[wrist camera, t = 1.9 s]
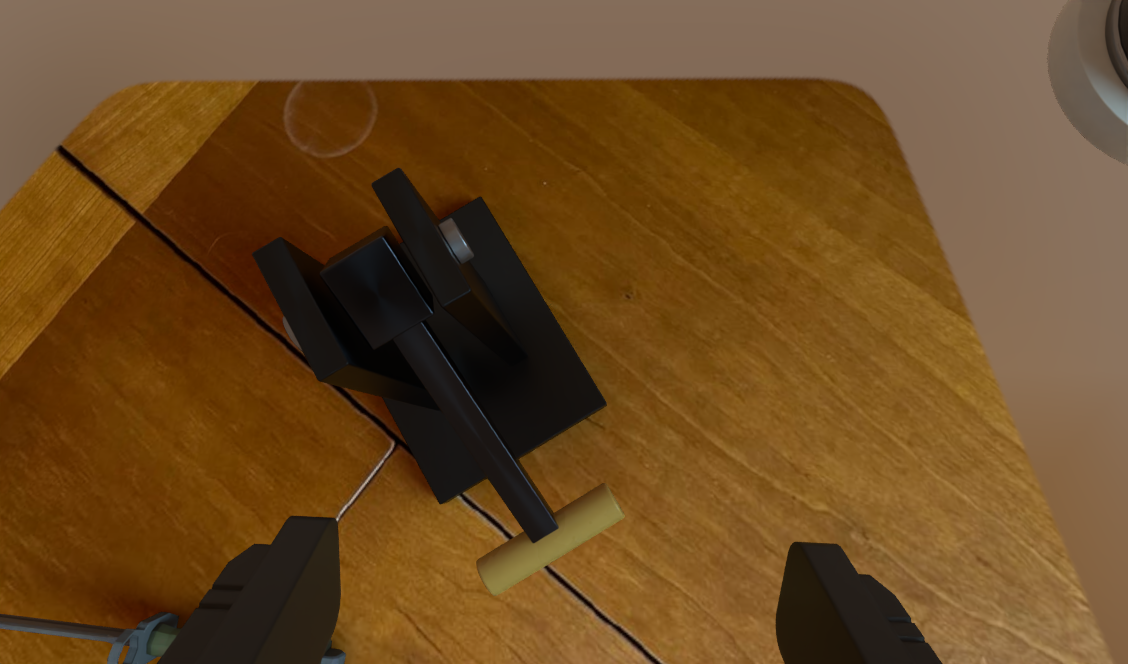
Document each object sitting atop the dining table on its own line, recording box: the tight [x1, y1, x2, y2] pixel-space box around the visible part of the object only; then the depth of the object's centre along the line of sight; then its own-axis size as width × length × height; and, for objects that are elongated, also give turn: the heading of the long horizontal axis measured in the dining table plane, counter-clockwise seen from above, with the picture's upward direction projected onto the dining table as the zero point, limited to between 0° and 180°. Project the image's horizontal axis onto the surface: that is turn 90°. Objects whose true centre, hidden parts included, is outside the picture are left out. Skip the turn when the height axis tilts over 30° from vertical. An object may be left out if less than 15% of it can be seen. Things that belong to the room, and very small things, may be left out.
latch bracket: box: [252, 168, 607, 504], centre depth 27 cm, size 12×9×15 cm
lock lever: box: [319, 226, 625, 596], centre depth 23 cm, size 13×6×2 cm, turn 31°
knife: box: [0, 612, 346, 664], centre depth 31 cm, size 19×2×5 cm, turn 82°
